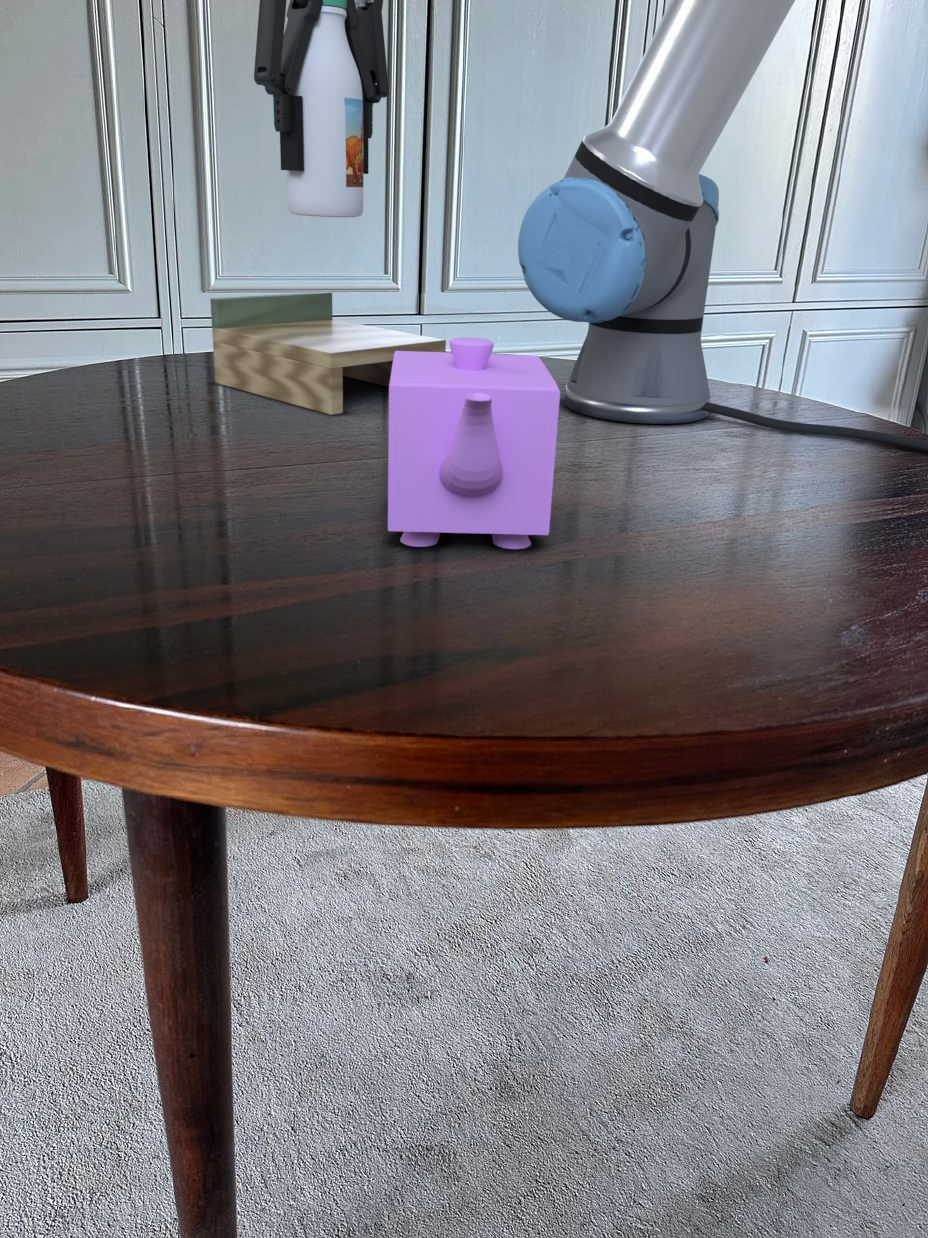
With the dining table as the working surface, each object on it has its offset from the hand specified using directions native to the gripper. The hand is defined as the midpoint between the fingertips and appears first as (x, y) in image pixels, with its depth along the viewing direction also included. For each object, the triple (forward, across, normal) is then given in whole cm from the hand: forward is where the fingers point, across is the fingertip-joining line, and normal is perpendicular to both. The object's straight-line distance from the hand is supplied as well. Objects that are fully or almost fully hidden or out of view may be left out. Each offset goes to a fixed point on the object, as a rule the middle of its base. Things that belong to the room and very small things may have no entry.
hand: (325, 171), depth 100 cm
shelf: (+22, 0, 0) cm, 22 cm away
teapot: (+22, +24, +43) cm, 54 cm away
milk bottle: (+4, 0, 0) cm, 4 cm away
